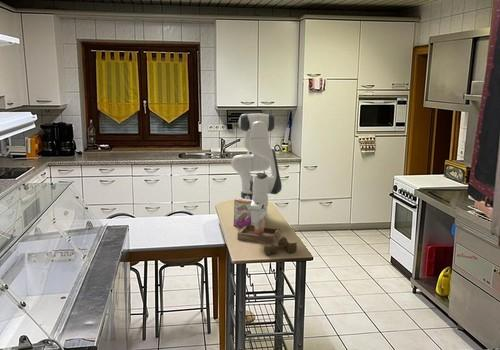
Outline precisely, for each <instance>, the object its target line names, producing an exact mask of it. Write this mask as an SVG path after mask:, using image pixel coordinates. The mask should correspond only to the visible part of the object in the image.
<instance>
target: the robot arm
mask: <svg viewBox="0 0 500 350" xmlns="http://www.w3.org/2000/svg"><path fill="white" fill-rule="evenodd" d="M238 126H239V129H240V130H241V131H243V132H245V133H244V141H243V146H244V148H245V149H246V150H247V151H248V152H250V154H248V153H247V154H245V153H243V154H238V155H234V156H233V157H231V160H230V161H231V162H230V165H231V168H232V169H233V170H234V172H236V173H237V174H238V175H239V177H240V181H241V191H240V198H242V199H249V200H252V203H251V205H250V209H251V222H252V223H253V224H254V223H255V225H256V229H259V222H260V221H261V220H262V218H264V219H265V216H266V215H267V214H268V206H269V195H268V194H270V195H278V194H279V193H280V192H281V191H282V187H283V184H282V180H281V176H280V171H279V166H278V159H277V156H276V152H275V149H273V148H272V147H271V145H270V142H269V140H270V139H269V132H273V130H275V127H276V119H275V116H274V114H270V113H267V114H266V113H260V112H259V113H242V114H240V116H239V119H238ZM269 169H270V172H271V175H270V176H268V174H267V173H263V172H265V171H267V170H269ZM251 172H257V173H255V174H254V175H251Z"/></svg>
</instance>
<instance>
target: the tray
mask: <svg viewBox="0 0 500 350" xmlns="http://www.w3.org/2000/svg"><path fill="white" fill-rule="evenodd" d="M280 232H281V231H280V228H277V227H270V226H269V227H267V226H264V234H255V233H254V224H253V225H245V226H244V227H242V228H241V229H240V230H239V231H238V232H237V235H236V236H237V238H236V239H237V240H241V241H249V242H254V243H255V242H256V243H263V244H269V245H274V242H275V241H276V240H277V239H278V237H279V236H280Z"/></svg>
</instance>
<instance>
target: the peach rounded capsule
mask: <svg viewBox="0 0 500 350" xmlns="http://www.w3.org/2000/svg"><path fill="white" fill-rule="evenodd" d="M253 225H254V233H255V234H264V227H265V217H264V218H262V220H261V221H260V222H259V229H256V225H255V223H253Z"/></svg>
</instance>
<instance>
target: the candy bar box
mask: <svg viewBox="0 0 500 350" xmlns="http://www.w3.org/2000/svg"><path fill="white" fill-rule="evenodd" d="M251 203H252V200H249V199H242V198H241V197H237V198H234V205H233V206H234V208H233V226H235V227H242V228H243V227H244V226H245V225H254V223H252V222H251V209H250V205H251Z"/></svg>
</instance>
